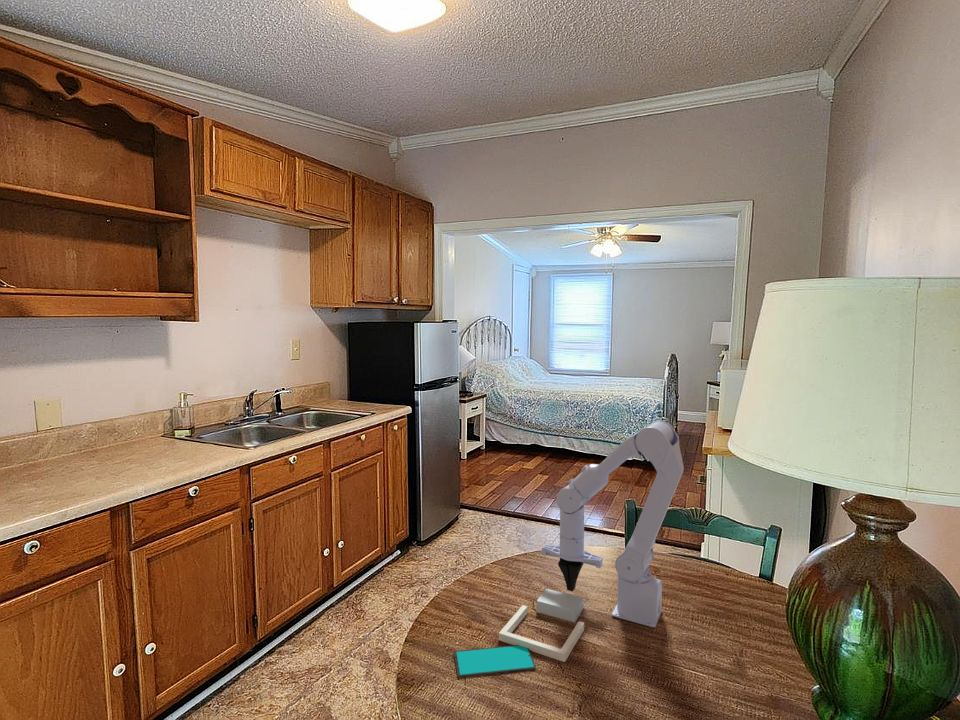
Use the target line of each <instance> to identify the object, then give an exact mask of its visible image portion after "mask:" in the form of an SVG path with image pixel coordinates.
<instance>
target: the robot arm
mask: <svg viewBox="0 0 960 720" xmlns="http://www.w3.org/2000/svg"><path fill="white" fill-rule="evenodd" d="M642 456H643V457H645V458H646V459H647V460H648V461H649V462H650V463H651V464H652V466H653V467H654V469H655V471H656V476H655V478H654V481H653V483H652V486H651V488H650V491H649V493H648V495H647V498H646V501H645V503H644V505H643V508H642V511H641V513H640V515H639V517H638V521H637V523H636V525H635V528H634V531H633V532H632V535H631V538H630V539H629V541H628V542H627V544H626V546H625V547H624V549H623V550H622V552H621V553H620V554H619V555H618V556H617V557H616V559H615V563H614V567H615V570H616V573H617V597H616V598H617V603H616V605H615V607H614V609H613V611H612V612H611V616H612V617H614V618H618V619H622V620H625V621H629V622H632V623H636V624H640V625H643V626H646V627H651V628H657V625H658V622H659V619H660V616H661V614H662V611H663V608H662V605H663V604H662V601H663V599H662V598H663V597H662V596H663V583H662V580H661V579H658V578H656V577H654V576H653V575H652V572H651V569H650V567H649V566H650V564H651V563H652V562H653V560H654V556H655V554H654V545H655V544H656V540H657V539H656V538H657V537H658V534H659V531H660V528H661V527H662V523H663V521H664V519H665V517H666V514H667V512H668V509H669V507H670V505H671V503H672V500H673V497H674V496H675V493H676V491H677V488H678V485H679V483H680V481H681V479H682V476H683V475H684V474H683V473H684V470H685V469H684V467H685V466H684V461H683V457H682V452H681V446H680V437H679V435H678V433H677V432H676V430H675V429H674V428H673V426H672V424H670V423H669V422H667V421H665V420H661V419H659V420H657V419H656V420H654V421H651V422H650V423H649V424H648V425H647V426H646V427H643V428H641V429H640V430H638V431H637V432H635V433H633V434H632V435H630V436H629V437H627V438H626V439H624V440H623V441H622V442H621V443H620V444H619V445H618V446H617V447H616V448H615V449H614V450H613V451H612V452H611V453H610V454H608V455H607V456H606V457H605V459H603V460H602V461H601V462H600V463H599V464H598V463H597V464H596V463H590V464H589V465H588V464H585V465H584V466H583V467H582V468H581V472H580V473H579V474H578V475H576V477H575V478H571V479H569V480H568V484H567V485H566V486H565V487H563V488H561V489H559V492H558V493H557V495H556V504H557V507H558V508H559V545H552V544H551V545H549V544H543V546H542V547H541V556H545V557H546V556H552V557H555V558H559V561H558V562H557V566H558V568H559V570H560V571H561V574H562V576H563V578H564V579H563V580H564V581H565V586H566V590H567V591H569V592H574V590H575V589H576V585H577V581H578V577H579V575H580V572H581V570H582V568H583V566H584V564H585V565H590V566H594V567H595V568H597V569H601V568H602V566H603V557H602V556H599V555H597V554H594V553H591V552H588V551H586V550H585V505H586V504H587V502H588V501H589V500H590V499H592V498H594V496H595V495H597V493H599V492H600V491H601V490H602V489H603V488H605V487H606V486H607V485H608V484H609V475H610V474H611V473H612V472H613V471H615V470H616V469H617V468H619V467H620V466H621V465H622V464H624V463H625V462H626V461H627V460H628V459H629V458H631V457H634V458H635V457H636V458H640V457H642Z"/></svg>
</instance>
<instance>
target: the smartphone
mask: <svg viewBox="0 0 960 720" xmlns="http://www.w3.org/2000/svg"><path fill="white" fill-rule="evenodd" d="M453 657H454V662H455V664H454V665H455V669H456V675H457V678H458V679H463V678H473V677H481V676H482V677H483V676H491V675H503V674H511V673H512V674H513V673H522V672H527V671H529V672H530V671H535V670H536V665H535V662H534V659H533V656H532V654H531V651H530V650H529V648H526V647H523V646H520V645H507V646H506V645H504V646H497V647H496V646H495V647H487V648H486V647H483V648H474V649H463V650H456V651H453Z"/></svg>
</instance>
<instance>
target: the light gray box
mask: <svg viewBox="0 0 960 720" xmlns="http://www.w3.org/2000/svg"><path fill="white" fill-rule="evenodd" d="M583 609H584V598H583V597H581V596H577V595H572V594H569V593H566V592H561V591H557V590H553V589H549V588H545V589H544V591H543V592H542V593H541V594H540V596H539V597H538V598H537V600H536V613H540V614H542V615H546V616H550V617H554V618H557V619H561V620H565V621H569V622H570V623H571V622H572V623H576V622H577V619H578V618H579V617H578V616H580V614H581V613H582V612H583Z"/></svg>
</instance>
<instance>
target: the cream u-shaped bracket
mask: <svg viewBox="0 0 960 720" xmlns="http://www.w3.org/2000/svg"><path fill="white" fill-rule="evenodd" d="M528 609H529V608H528V605H525V604H522V605H521V606H520V608H519V609H518V610H517V611H516V612H515V613H514V615H513V616H512V617H511V618H510V619H509V620H508V622H507V623H506V624H505V625H504V626H503V628H502V629H501V630H500V631H499V632H498V641H500V642H503V643H506V644H508V645H511V646H513V645H520V646H523V647H526V648H529V651H530V652H533V653H536V654H539V655H541V656H545V657H547V658H548V657H549V658H551V659H554V660H557V661H560V662H563V663H565V662H566V661H567V660H568V658H569V655H570V654H571V652H572V650H573V649H574V647H575V646H576V644H577V643H578V641H579V639H580V638H581V636H582V634H583V633H584V631H585V622H583V621H579V620H578V622H577V623H576V625H575V627H574V628H573V630H572V631H571V633H569V634H570V635H569V636H568V638H567V639H566V641H565V642H564V644H563V645H562V647H561V648H560V647H556V646H553V645H550V644H546V643H543V642H540V641H537V640H534V639H531V638H528V637H525V636H522V635H519V634H517V633H513V631H514V630H515V629H516V628H517V627H518V625H520V623H521V622H522V621H523V620H524V618H525V617H527V615H528V612H529V611H528Z"/></svg>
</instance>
